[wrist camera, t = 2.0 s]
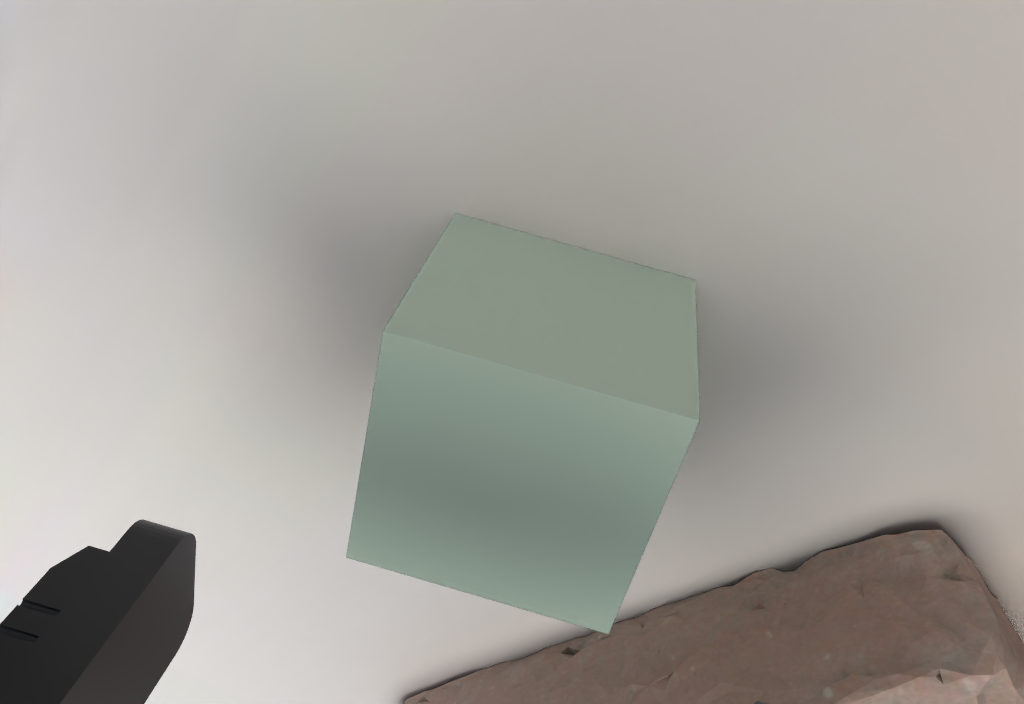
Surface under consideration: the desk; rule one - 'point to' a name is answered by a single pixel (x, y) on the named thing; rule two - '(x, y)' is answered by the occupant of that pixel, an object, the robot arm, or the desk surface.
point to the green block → (527, 422)
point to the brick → (790, 640)
